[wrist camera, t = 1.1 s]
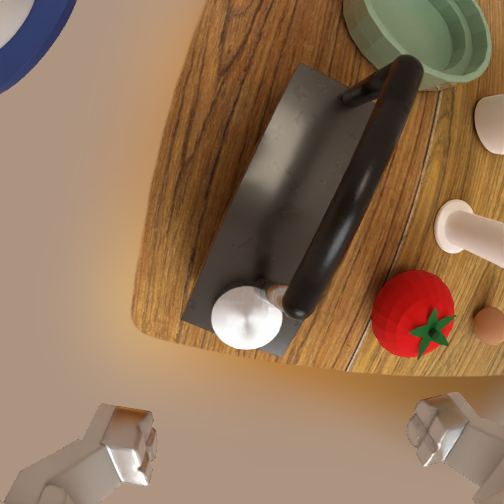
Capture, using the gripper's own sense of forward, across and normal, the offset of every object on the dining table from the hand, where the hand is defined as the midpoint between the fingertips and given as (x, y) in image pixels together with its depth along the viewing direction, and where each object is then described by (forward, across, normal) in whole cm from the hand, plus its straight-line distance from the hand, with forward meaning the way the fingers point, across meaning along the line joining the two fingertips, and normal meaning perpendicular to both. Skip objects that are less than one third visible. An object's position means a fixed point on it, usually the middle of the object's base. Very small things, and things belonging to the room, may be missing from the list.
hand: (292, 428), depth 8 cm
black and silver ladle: (+19, -3, -3) cm, 19 cm away
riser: (+28, -3, -3) cm, 28 cm away
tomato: (+28, -19, +8) cm, 34 cm away
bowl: (+28, -18, -27) cm, 43 cm away
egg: (+28, -36, +12) cm, 47 cm away
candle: (+28, -26, -2) cm, 38 cm away
